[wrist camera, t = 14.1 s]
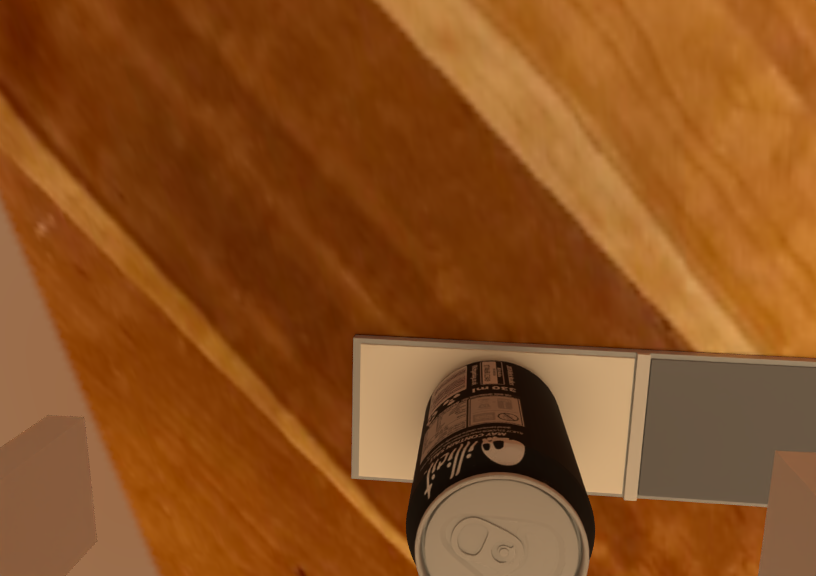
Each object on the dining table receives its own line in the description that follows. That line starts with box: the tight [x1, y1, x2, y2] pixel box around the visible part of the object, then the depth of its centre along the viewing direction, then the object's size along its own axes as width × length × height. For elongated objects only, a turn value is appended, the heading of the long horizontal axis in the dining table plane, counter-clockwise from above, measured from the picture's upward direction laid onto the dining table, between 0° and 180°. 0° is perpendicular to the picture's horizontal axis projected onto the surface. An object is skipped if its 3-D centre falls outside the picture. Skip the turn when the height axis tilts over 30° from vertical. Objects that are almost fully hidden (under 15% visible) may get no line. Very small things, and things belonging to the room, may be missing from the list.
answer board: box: [352, 335, 816, 507], centre depth 35 cm, size 8×28×1 cm, turn 88°
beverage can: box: [406, 360, 595, 576], centre depth 29 cm, size 7×7×12 cm
